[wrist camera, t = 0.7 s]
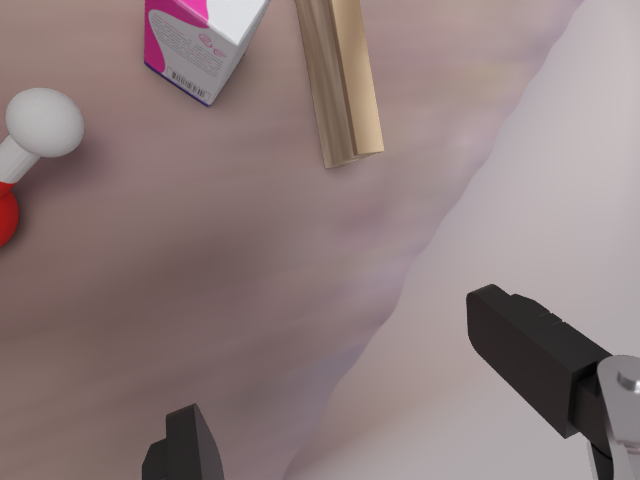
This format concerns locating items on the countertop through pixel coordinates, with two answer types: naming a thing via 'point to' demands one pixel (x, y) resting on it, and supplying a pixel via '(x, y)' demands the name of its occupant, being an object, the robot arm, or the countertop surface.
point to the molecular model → (34, 142)
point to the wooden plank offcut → (340, 80)
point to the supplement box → (199, 41)
